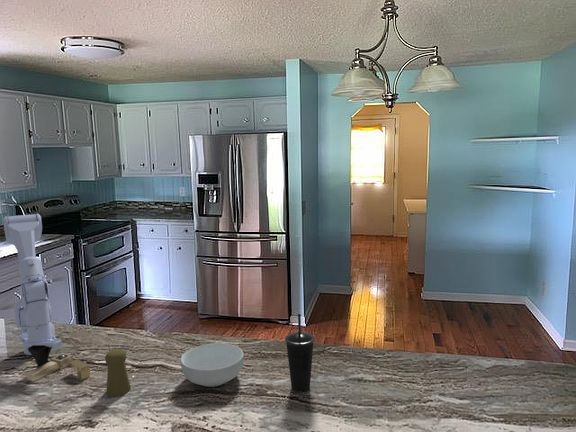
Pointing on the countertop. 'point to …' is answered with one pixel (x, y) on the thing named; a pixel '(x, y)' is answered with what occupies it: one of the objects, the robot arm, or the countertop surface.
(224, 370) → the cereal bowl
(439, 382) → the countertop surface
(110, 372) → the pepper mill
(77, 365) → the keeper
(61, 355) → the cylinder
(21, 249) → the robot arm
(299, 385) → the drinking cup
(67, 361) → the link
